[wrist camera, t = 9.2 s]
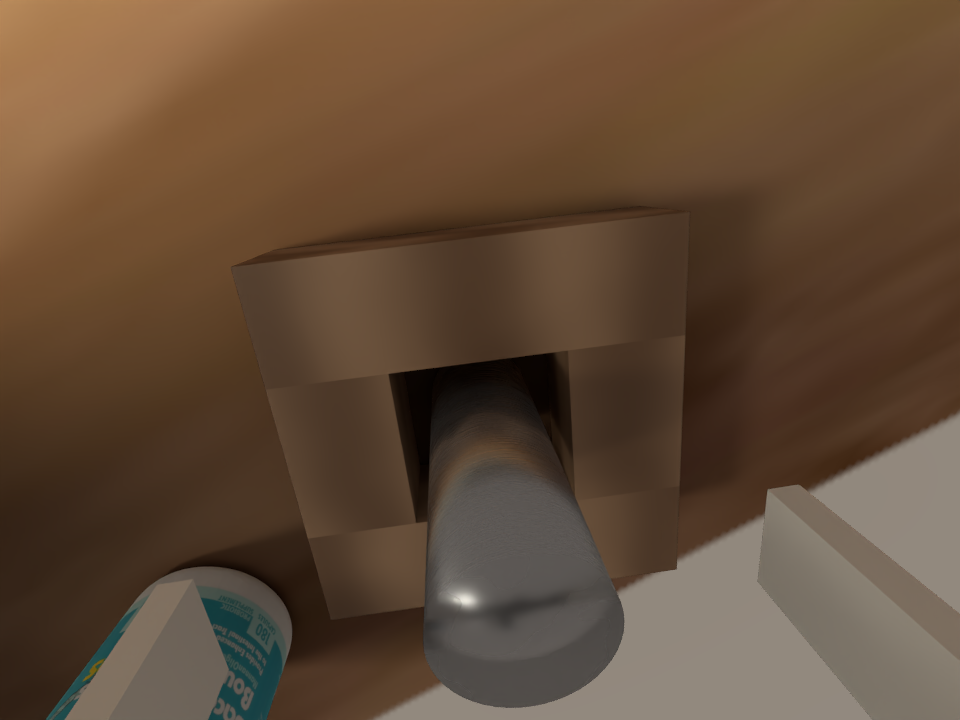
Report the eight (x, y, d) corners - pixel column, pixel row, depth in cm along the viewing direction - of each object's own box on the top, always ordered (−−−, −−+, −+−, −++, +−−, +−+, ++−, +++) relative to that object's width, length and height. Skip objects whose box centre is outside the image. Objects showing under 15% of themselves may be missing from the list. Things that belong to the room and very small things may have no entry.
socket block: (348, 549, 23) (331, 620, 19) (273, 250, 18) (230, 267, 15) (638, 508, 24) (676, 569, 20) (640, 206, 19) (690, 211, 15)
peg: (438, 440, 22) (438, 720, 10) (425, 355, 20) (407, 571, 9) (528, 428, 22) (625, 691, 10) (521, 342, 20) (623, 540, 9)
